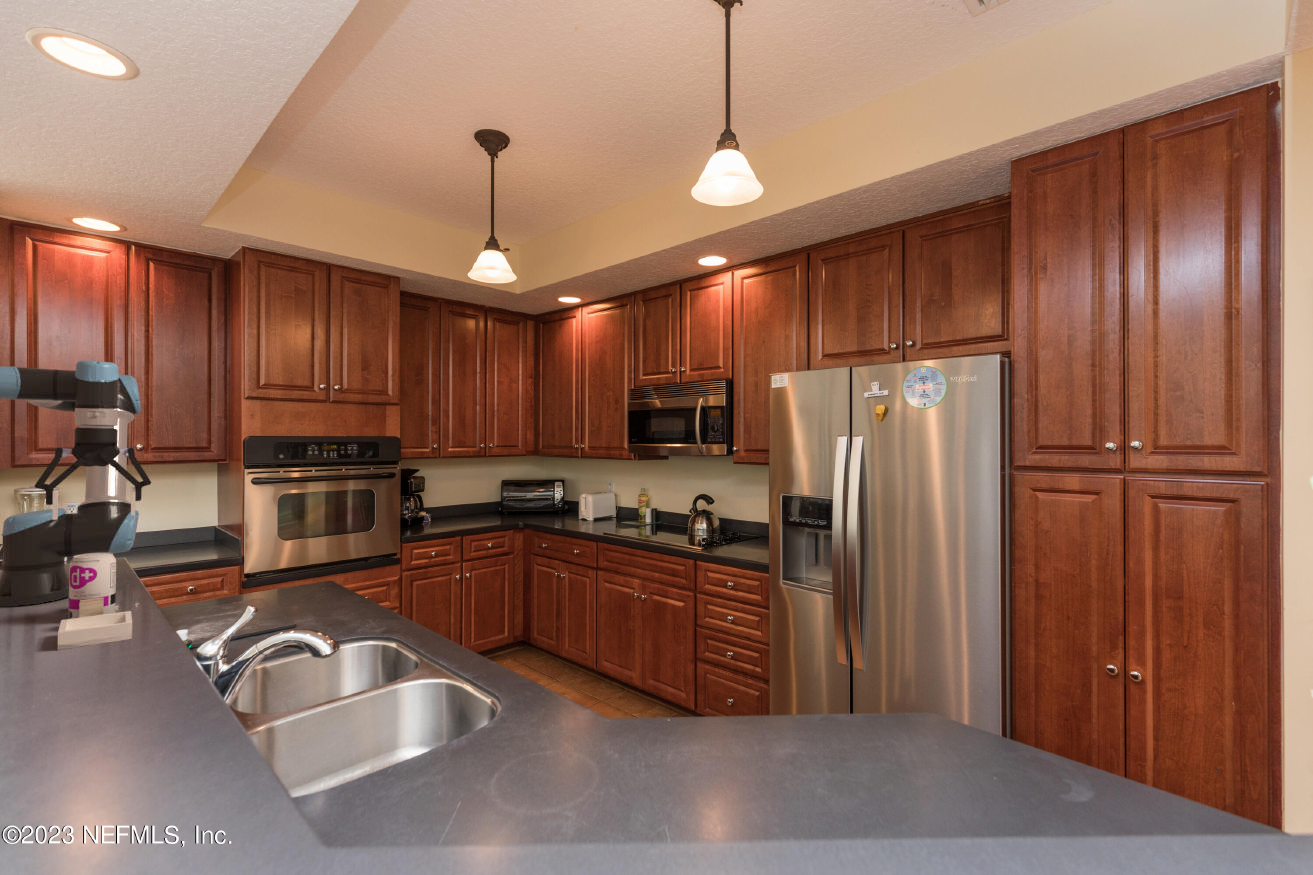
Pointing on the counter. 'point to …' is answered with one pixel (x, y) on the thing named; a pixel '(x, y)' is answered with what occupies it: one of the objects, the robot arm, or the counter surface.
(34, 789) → the counter surface
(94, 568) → the supplement can
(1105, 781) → the counter surface
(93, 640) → the off-white tray
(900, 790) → the counter surface
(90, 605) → the birch block
